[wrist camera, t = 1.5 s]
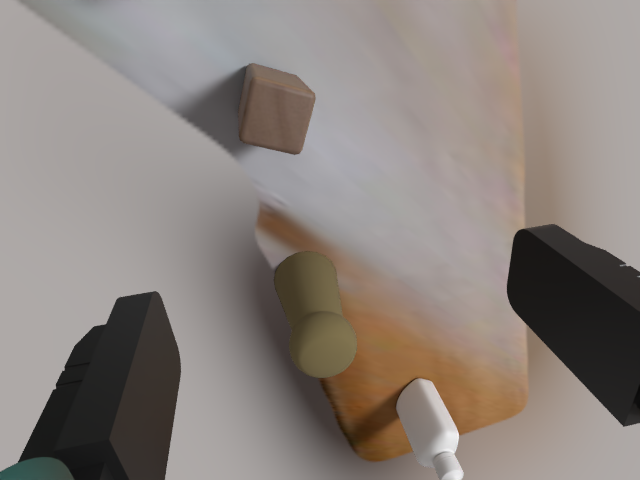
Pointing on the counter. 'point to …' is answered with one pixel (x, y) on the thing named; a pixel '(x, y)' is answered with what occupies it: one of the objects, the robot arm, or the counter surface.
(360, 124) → the counter surface
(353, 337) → the olive pawn
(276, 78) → the wooden block
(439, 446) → the eye dropper bottle
